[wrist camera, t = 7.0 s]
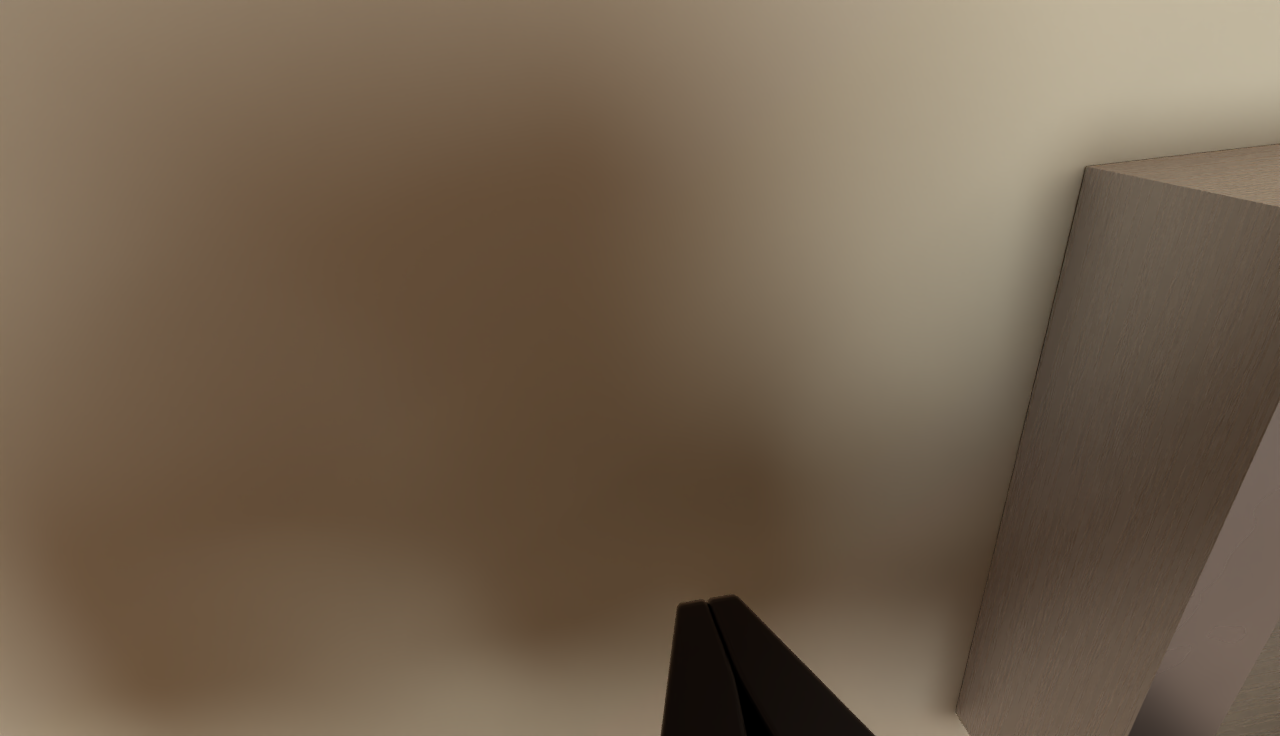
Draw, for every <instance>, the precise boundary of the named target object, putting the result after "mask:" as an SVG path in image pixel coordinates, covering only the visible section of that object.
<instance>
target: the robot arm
mask: <svg viewBox="0 0 1280 736" xmlns="http://www.w3.org/2000/svg"><path fill="white" fill-rule="evenodd" d="M661 736H875V735H874V734H873V733H872V732H871V731H870V730H869V729H868V728H867V727H866V726H865V725H864V724H863V723H862V722H861V721H860V720H859V719H858V718H857V717H856V716H855V715H854V714H853V713H852V712H851V711H850V710H849V709H848V708H847V707H846V706H845V705H844V704H843V703H842V702H841V701H840V700H839V699H838V698H837V697H836V695H835V694H834V693H833V692H832V691H831V690H830V689H829V688H828V687H827V686H826V685H825V684H824V683H823V682H822V681H821V680H820V679H819V678H818V677H817V676H816V675H815V674H814V673H813V672H812V671H811V670H810V669H809V668H808V667H807V666H806V665H805V664H804V663H803V662H802V661H801V660H800V659H799V658H798V657H797V656H796V655H795V654H794V653H793V652H792V651H791V650H790V649H789V648H788V647H787V646H786V645H785V644H784V643H783V642H782V641H781V640H780V639H779V638H778V637H777V636H776V635H775V634H774V633H773V632H772V631H771V630H770V629H769V628H768V627H767V626H766V625H765V624H764V623H763V622H762V621H761V619H760V618H759V617H758V616H757V615H756V614H755V613H754V612H753V611H752V610H751V609H750V608H749V607H748V606H747V605H746V604H745V603H744V602H743V601H742V600H741V599H740V598H739V597H737V596H735V595H725V596H719V597H713V598H710V599H709V600H708V601H707V602H706V601H705V600H695V601H689V602H683V603H680V604H679V605H678V606H677V611H676V618H675V626H674V634H673V642H672V650H671V658H670V666H669V674H668V682H667V690H666V698H665V706H664V714H663V722H662V730H661Z"/></svg>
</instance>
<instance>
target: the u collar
mask: <svg viewBox="0 0 1280 736" xmlns="http://www.w3.org/2000/svg"><path fill="white" fill-rule="evenodd" d="M955 713H956V714H957V716H958V717H959V719H960V721H961V722H962V724H963V725H964V727H965V728H966V730H967V732H968V733H969V735H970V736H1280V144H1274V145H1265V146H1256V147H1248V148H1239V149H1231V150H1222V151H1214V152H1205V153H1197V154H1188V155H1180V156H1171V157H1163V158H1154V159H1146V160H1137V161H1128V162H1120V163H1111V164H1103V165H1094V166H1086V170H1085V174H1084V178H1083V183H1082V187H1081V191H1080V195H1079V199H1078V203H1077V208H1076V212H1075V216H1074V220H1073V224H1072V228H1071V233H1070V237H1069V241H1068V245H1067V249H1066V253H1065V258H1064V262H1063V266H1062V270H1061V274H1060V279H1059V283H1058V287H1057V291H1056V295H1055V299H1054V304H1053V308H1052V312H1051V316H1050V320H1049V324H1048V329H1047V333H1046V337H1045V341H1044V345H1043V349H1042V354H1041V358H1040V362H1039V366H1038V370H1037V374H1036V379H1035V383H1034V387H1033V391H1032V395H1031V399H1030V404H1029V408H1028V412H1027V416H1026V420H1025V424H1024V429H1023V433H1022V437H1021V441H1020V445H1019V449H1018V454H1017V458H1016V462H1015V466H1014V470H1013V474H1012V479H1011V483H1010V487H1009V491H1008V495H1007V500H1006V504H1005V508H1004V512H1003V516H1002V520H1001V525H1000V529H999V533H998V537H997V541H996V545H995V550H994V554H993V558H992V562H991V566H990V570H989V575H988V579H987V583H986V587H985V591H984V595H983V600H982V604H981V608H980V612H979V616H978V620H977V625H976V629H975V633H974V637H973V641H972V645H971V650H970V654H969V658H968V662H967V666H966V670H965V675H964V679H963V683H962V687H961V691H960V695H959V700H958V704H957V708H956V712H955Z"/></svg>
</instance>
